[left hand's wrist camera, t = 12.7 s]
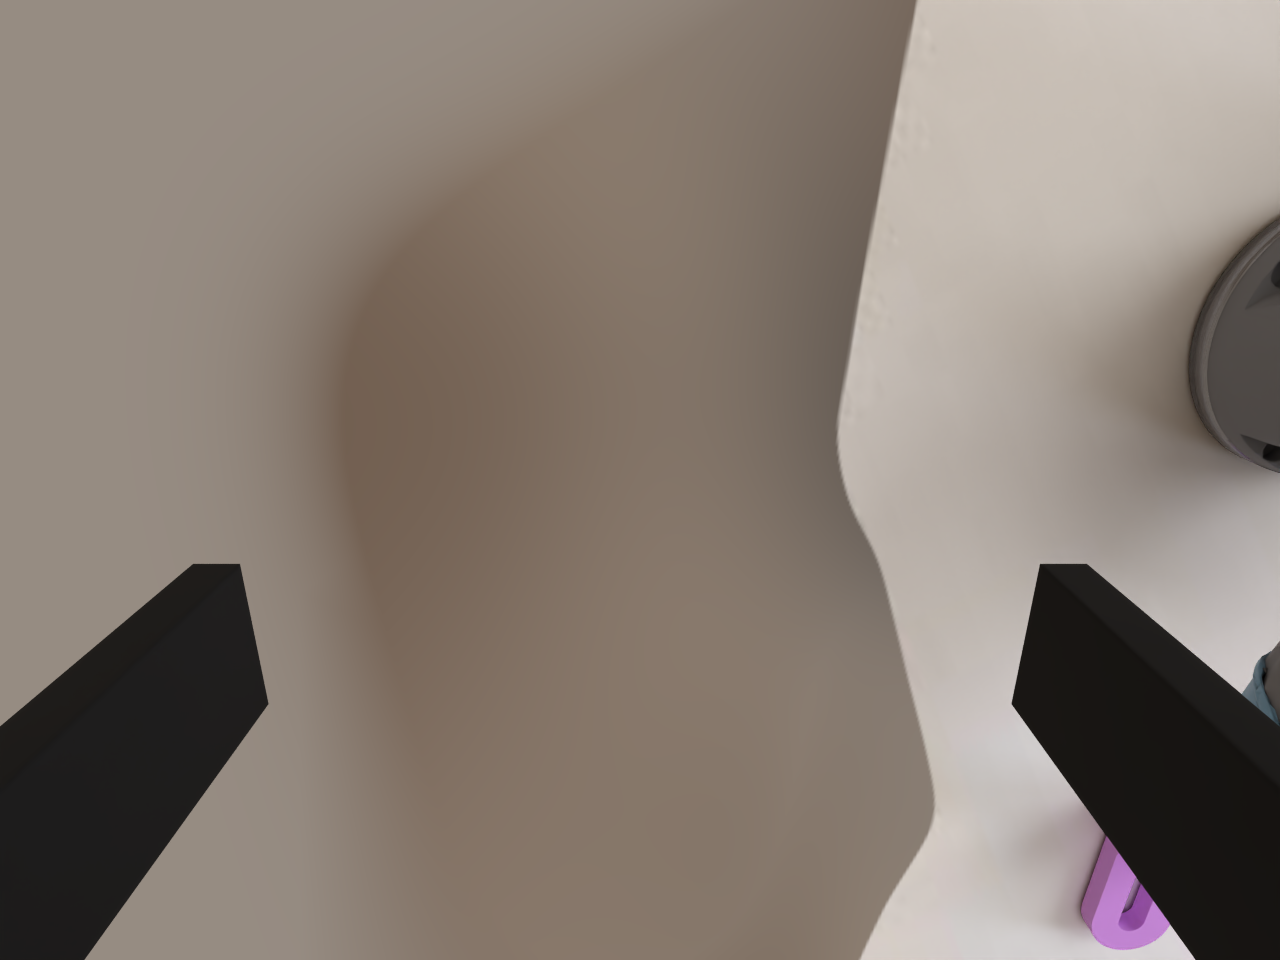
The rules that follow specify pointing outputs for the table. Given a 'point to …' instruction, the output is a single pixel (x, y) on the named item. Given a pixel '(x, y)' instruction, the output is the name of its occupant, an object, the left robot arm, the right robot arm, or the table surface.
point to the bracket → (1119, 905)
